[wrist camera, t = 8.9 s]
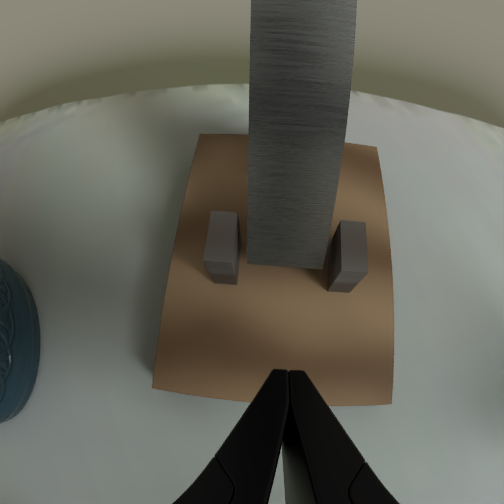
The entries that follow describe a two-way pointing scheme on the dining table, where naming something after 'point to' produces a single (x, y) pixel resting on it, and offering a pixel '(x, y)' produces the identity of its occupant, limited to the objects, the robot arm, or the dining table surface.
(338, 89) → the lever
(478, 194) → the dining table surface
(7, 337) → the canister
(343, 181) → the board
